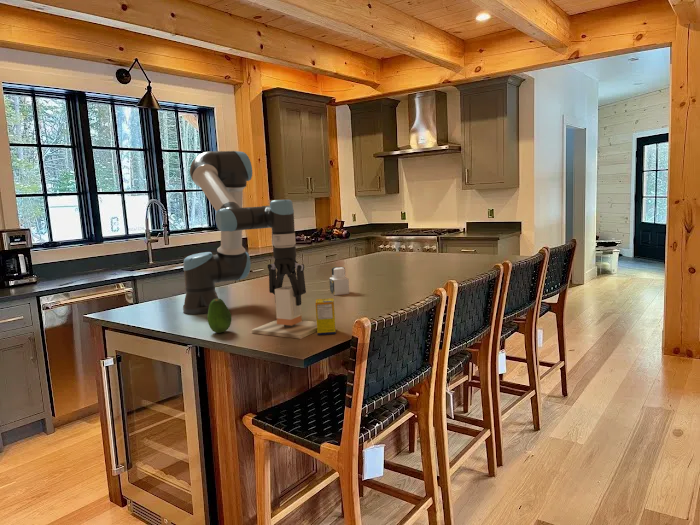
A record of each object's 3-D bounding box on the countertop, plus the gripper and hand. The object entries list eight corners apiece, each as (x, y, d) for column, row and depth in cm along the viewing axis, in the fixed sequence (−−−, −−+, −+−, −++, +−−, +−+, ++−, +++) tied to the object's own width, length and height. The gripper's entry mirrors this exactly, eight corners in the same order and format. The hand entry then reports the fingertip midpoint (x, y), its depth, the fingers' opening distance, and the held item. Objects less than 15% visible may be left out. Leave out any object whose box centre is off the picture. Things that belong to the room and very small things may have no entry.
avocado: (203, 334, 178) (200, 299, 176) (221, 328, 184) (218, 295, 183) (220, 337, 174) (217, 301, 172) (237, 331, 180) (234, 296, 178)
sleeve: (276, 318, 177) (274, 289, 175) (287, 314, 182) (285, 285, 180) (291, 319, 174) (289, 290, 172) (301, 315, 179) (299, 286, 178)
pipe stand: (251, 333, 176) (249, 298, 175) (280, 321, 190) (277, 289, 188) (301, 338, 167) (298, 301, 165) (327, 326, 180) (325, 291, 179)
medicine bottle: (330, 292, 240) (328, 266, 238) (344, 291, 242) (343, 265, 240) (334, 295, 233) (332, 268, 231) (349, 293, 235) (348, 267, 234)
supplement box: (335, 329, 175) (333, 297, 174) (335, 334, 170) (333, 301, 168) (317, 330, 175) (315, 298, 174) (317, 335, 169) (315, 302, 168)
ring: (277, 324, 177) (276, 318, 177) (287, 319, 182) (287, 314, 182) (291, 325, 174) (291, 319, 174) (301, 321, 179) (301, 315, 179)
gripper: (254, 247, 176) (259, 314, 179) (301, 247, 167) (306, 318, 170) (268, 244, 182) (273, 309, 185) (314, 245, 173) (318, 313, 176)
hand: (288, 314), depth 178 cm, fingers closed on sleeve, 6 cm apart
